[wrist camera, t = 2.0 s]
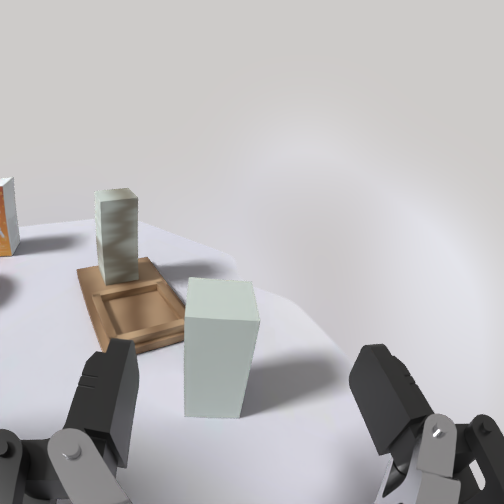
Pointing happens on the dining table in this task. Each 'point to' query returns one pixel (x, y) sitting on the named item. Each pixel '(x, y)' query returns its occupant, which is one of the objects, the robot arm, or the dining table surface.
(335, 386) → the dining table surface
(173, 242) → the dining table surface
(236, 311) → the sage block
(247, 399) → the dining table surface
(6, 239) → the small box
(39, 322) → the dining table surface
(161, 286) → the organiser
